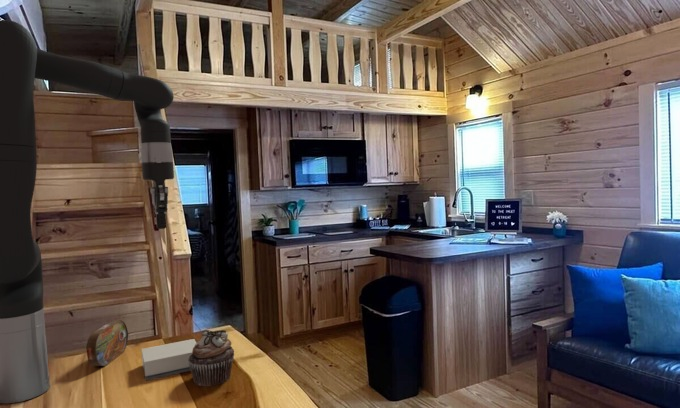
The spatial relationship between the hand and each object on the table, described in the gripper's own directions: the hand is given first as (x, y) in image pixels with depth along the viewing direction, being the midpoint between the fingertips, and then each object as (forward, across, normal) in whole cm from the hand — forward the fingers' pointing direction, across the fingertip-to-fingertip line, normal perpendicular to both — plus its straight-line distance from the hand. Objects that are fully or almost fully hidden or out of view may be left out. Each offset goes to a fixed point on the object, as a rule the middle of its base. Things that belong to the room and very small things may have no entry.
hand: (161, 228), depth 117 cm
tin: (+31, +1, -14) cm, 34 cm away
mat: (+31, +15, -1) cm, 35 cm away
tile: (+29, +10, -1) cm, 30 cm away
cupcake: (+31, +26, +6) cm, 41 cm away
